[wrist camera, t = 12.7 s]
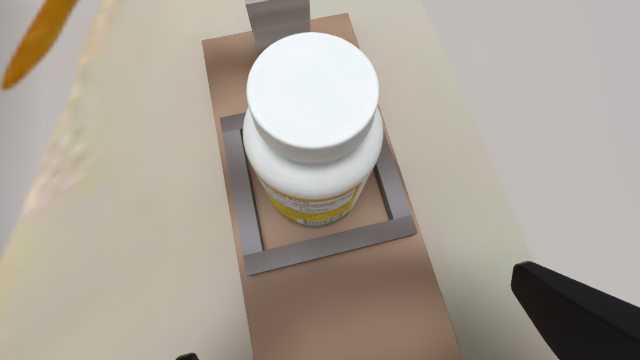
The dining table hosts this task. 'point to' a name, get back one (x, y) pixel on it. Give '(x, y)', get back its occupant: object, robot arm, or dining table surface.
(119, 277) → the dining table surface
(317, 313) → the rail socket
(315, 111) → the supplement bottle
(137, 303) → the dining table surface
